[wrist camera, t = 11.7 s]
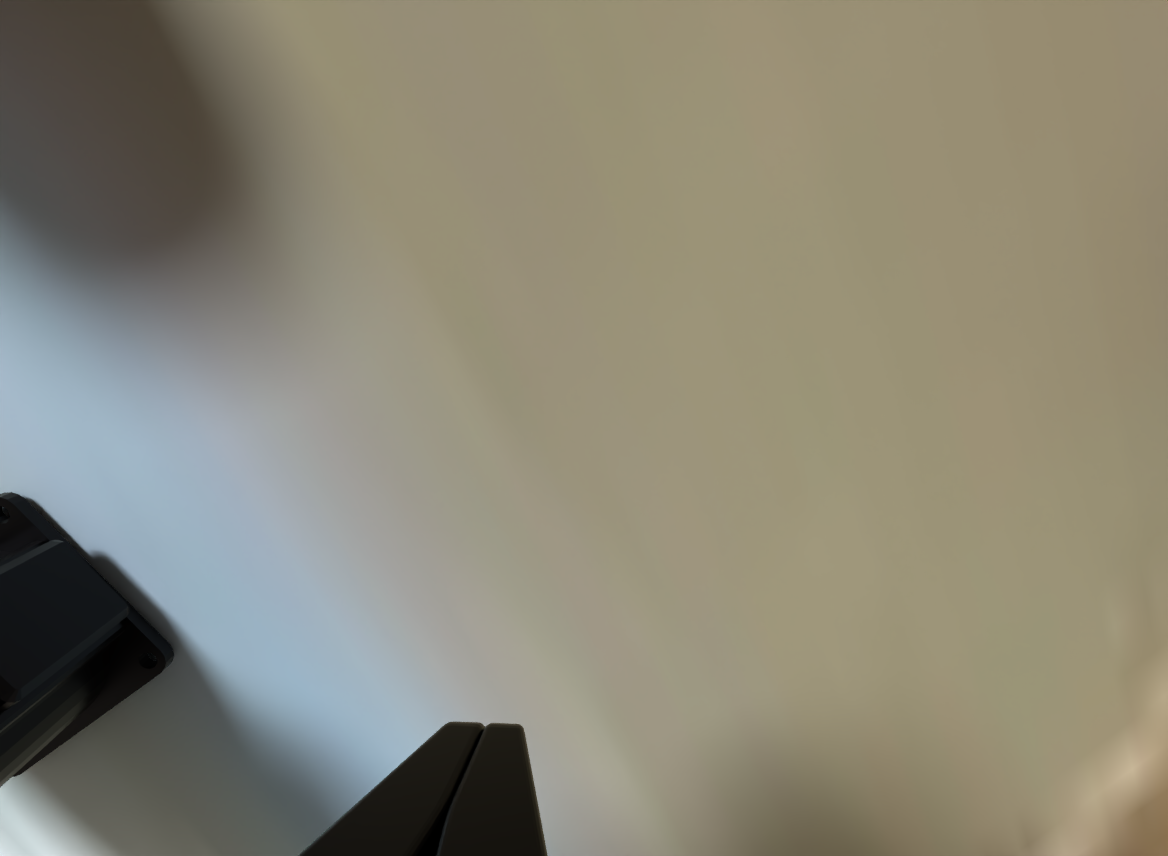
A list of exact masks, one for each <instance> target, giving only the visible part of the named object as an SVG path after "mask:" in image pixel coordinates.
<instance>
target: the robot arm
mask: <svg viewBox="0 0 1168 856" xmlns="http://www.w3.org/2000/svg"><path fill="white" fill-rule="evenodd" d="M2 506H3V507H4V508H6V509H7V510H8V512H9V513H10V518H9V517H8V516H6V515H5V514H4V512H3V509H2ZM147 653H151V654H153V655H154V656H155V657H156V659H157V661H155V660H152V659H151V658H149V656H148V654H147ZM173 657H174V652H173V649H172V647H171V646H170V644H169V643H168V642H167V641H166V640H165V639H164V638H163V637H162V636H161V635H160V634H159V633H158V632H157V631H156V630H155V629H154V628H153V627H152V626H151V625H150V624H149V623H148V622H147V621H146V620H145V619H144V618H143V617H142V616H141V615H140V614H139V613H138V612H137V611H136V610H135V609H134V608H133V607H132V606H131V605H130V604H129V603H128V602H127V601H126V600H125V599H124V598H123V597H122V596H121V595H120V594H119V593H118V592H117V591H116V590H115V589H114V588H113V587H112V586H111V585H110V584H109V583H108V582H107V581H106V580H105V579H104V578H103V577H102V576H101V575H100V574H99V573H98V572H97V571H96V570H95V569H94V568H93V567H92V566H91V565H90V564H89V563H88V562H87V561H86V560H85V559H84V558H83V557H82V556H81V555H80V554H79V553H78V552H77V551H76V550H75V549H74V548H73V547H72V546H71V545H70V544H69V543H68V542H67V541H66V540H65V539H64V538H63V537H62V535H61V534H60V533H59V532H58V531H57V530H56V529H55V528H54V527H53V526H52V525H51V524H50V523H49V522H48V521H47V520H46V519H45V518H44V517H43V516H42V515H41V514H40V513H39V512H38V511H37V510H36V509H35V508H34V507H33V506H32V505H31V504H30V503H29V502H28V501H27V500H26V499H24V498H23V497H22V496H20V495H18V494H15V493H12V492H10V493H2V494H0V787H1V786H2V785H3V784H4V783H5V782H7V781H8V780H9V779H10V778H11V777H15V776H17V775H20V774H22V773H23V772H24V771H26V770H27V769H28V768H30V767H31V766H33V765H34V764H35V763H37V762H38V761H40V760H41V759H42V758H44V757H45V756H46V755H48V754H49V753H51V752H52V751H53V750H55V749H56V748H58V747H59V746H60V745H62V744H63V743H64V742H66V741H67V740H69V739H70V738H71V737H73V736H74V735H76V734H77V733H78V732H80V731H81V730H82V729H84V728H85V727H87V726H88V725H89V724H91V723H92V722H94V721H95V720H96V719H98V718H99V717H100V716H102V715H103V714H105V713H106V712H107V711H109V710H110V709H112V708H113V707H114V706H116V705H117V704H118V703H120V702H121V701H123V700H124V699H125V698H127V697H128V696H130V695H131V694H132V693H134V692H135V691H136V690H138V689H139V688H141V687H142V686H143V685H145V684H146V683H147V682H149V681H150V680H152V679H153V678H154V677H156V676H157V675H159V674H160V673H161V672H162V671H163V670H164V669H165V668H166V667H167V666H168V665H169V664H170V663H171V662H172V661H173ZM298 856H547V851H546V845H545V840H544V834H543V829H542V824H541V818H540V813H539V807H538V802H537V797H536V791H535V786H534V781H533V775H532V770H531V764H530V759H529V754H528V748H527V743H526V737H525V732H524V728H523V727H522V726H521V725H520V724H505V723H490V724H489V725H487V726H486V727H485V726H484V725H483V724H481V723H478V722H449V723H447V724H445V725H444V726H443V727H441V728H440V729H439V730H438V731H437V732H436V733H435V734H434V735H433V736H431V737H430V738H429V739H428V740H427V741H426V742H425V743H424V744H423V745H421V746H420V747H419V748H418V749H417V750H416V751H415V752H414V753H412V754H411V755H410V756H409V757H408V758H407V759H406V760H405V761H404V762H402V763H401V764H400V765H399V766H398V767H397V768H396V769H395V770H393V771H392V772H391V773H390V774H389V775H388V776H387V777H386V778H385V779H383V780H382V781H381V782H380V783H379V784H378V785H377V786H376V787H374V788H373V789H372V790H371V791H370V792H369V793H368V794H367V795H366V796H364V797H363V798H362V799H361V800H360V801H359V802H358V803H357V804H355V805H354V806H353V807H352V808H351V809H350V810H349V811H348V812H347V813H345V814H344V815H343V816H342V817H341V818H340V819H339V820H338V821H336V822H335V823H334V824H333V825H332V826H331V827H330V828H329V829H328V830H326V831H325V832H324V833H323V834H322V835H321V836H320V837H319V838H317V839H316V840H315V841H314V842H313V843H312V844H311V845H310V846H309V847H307V848H306V849H305V850H304V851H303V852H302V853H301V854H300V855H298Z"/></svg>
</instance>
